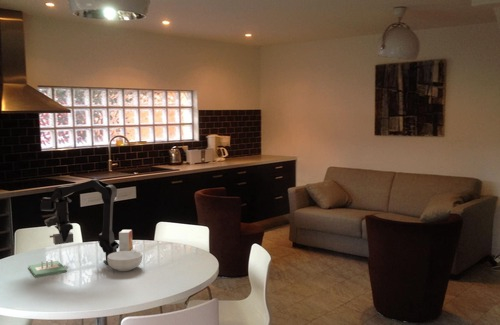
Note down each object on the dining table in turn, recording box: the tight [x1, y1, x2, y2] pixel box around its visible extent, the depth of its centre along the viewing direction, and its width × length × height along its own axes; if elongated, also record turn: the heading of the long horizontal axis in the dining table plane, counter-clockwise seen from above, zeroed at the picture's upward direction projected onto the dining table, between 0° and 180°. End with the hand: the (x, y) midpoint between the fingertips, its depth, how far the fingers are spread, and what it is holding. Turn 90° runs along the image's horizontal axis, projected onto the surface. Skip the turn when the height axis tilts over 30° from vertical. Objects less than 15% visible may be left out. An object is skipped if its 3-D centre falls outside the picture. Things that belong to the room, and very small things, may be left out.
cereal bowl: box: [107, 250, 143, 272], centre depth 243 cm, size 17×17×7 cm
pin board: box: [28, 260, 68, 278], centre depth 243 cm, size 18×14×4 cm
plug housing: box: [49, 231, 74, 245], centre depth 255 cm, size 4×11×4 cm, turn 123°
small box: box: [118, 229, 134, 251], centre depth 279 cm, size 8×6×10 cm
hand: (63, 240), depth 255 cm, fingers closed on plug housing, 4 cm apart
